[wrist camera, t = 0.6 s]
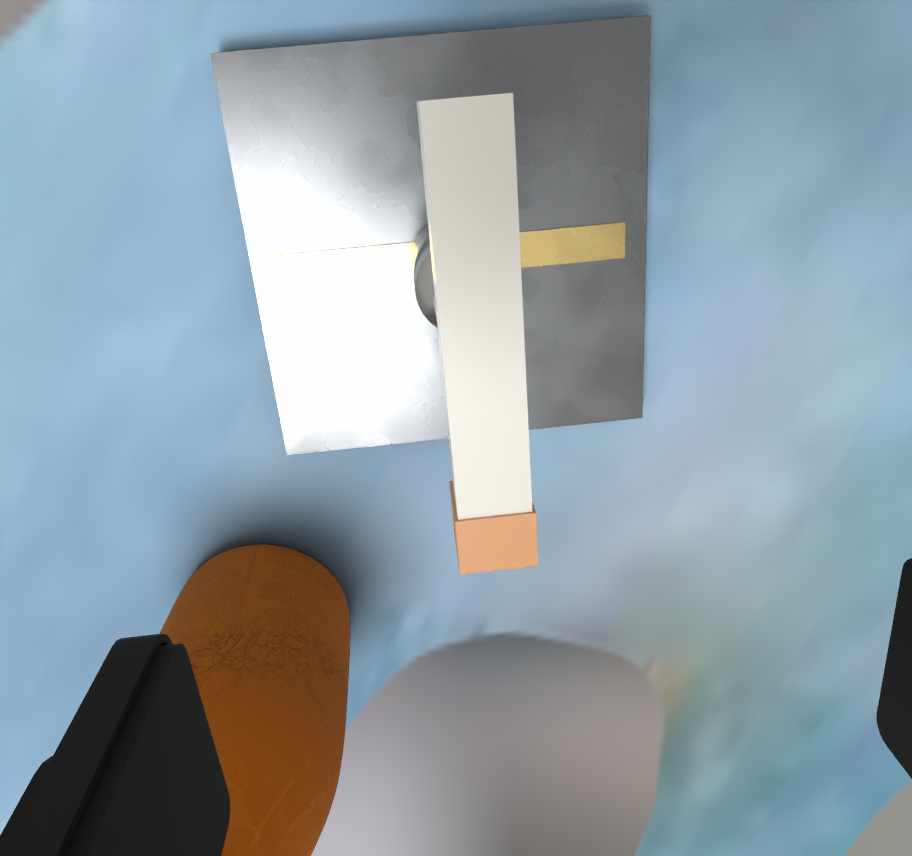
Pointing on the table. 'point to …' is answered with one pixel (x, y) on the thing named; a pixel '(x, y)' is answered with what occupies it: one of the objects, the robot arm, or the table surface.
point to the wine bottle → (270, 689)
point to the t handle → (480, 325)
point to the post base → (406, 224)
